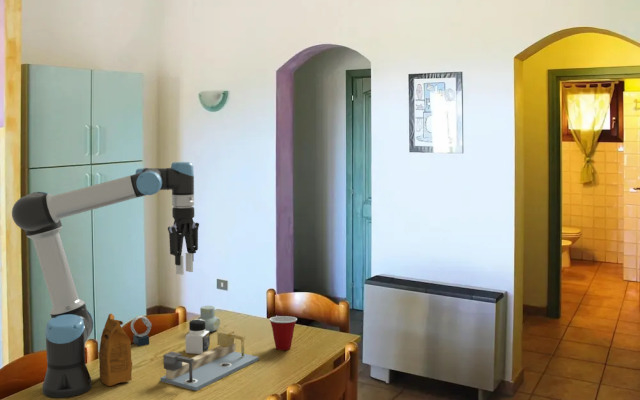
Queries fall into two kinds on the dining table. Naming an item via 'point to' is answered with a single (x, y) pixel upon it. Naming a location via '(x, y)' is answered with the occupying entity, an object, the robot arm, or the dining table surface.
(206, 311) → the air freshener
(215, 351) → the trammel beam
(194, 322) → the medicine bottle
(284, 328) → the plastic cup
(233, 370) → the plate
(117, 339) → the coffee package
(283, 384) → the dining table surface
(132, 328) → the grey ring on base
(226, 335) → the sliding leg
